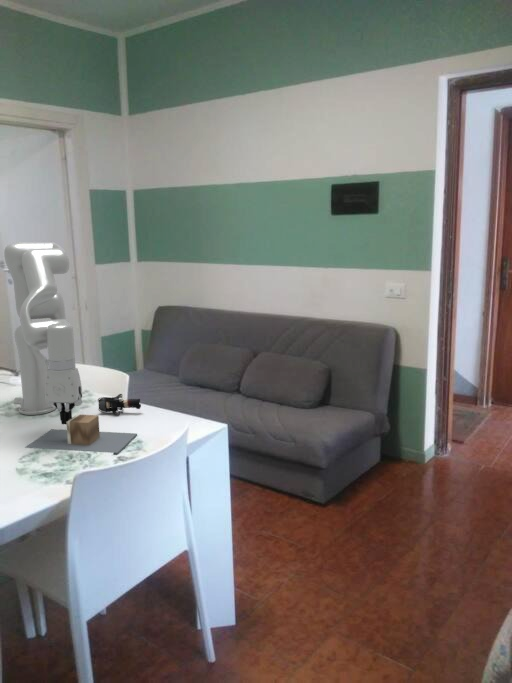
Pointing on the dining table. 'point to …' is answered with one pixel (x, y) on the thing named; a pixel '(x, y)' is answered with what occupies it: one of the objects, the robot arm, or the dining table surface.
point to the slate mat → (104, 443)
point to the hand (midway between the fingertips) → (66, 422)
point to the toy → (117, 404)
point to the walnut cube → (83, 429)
